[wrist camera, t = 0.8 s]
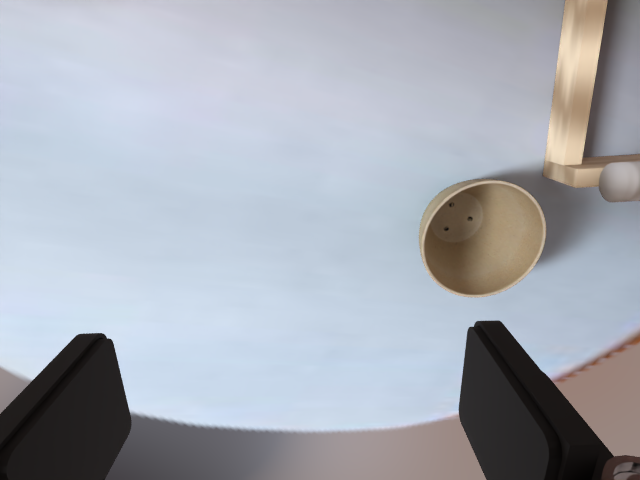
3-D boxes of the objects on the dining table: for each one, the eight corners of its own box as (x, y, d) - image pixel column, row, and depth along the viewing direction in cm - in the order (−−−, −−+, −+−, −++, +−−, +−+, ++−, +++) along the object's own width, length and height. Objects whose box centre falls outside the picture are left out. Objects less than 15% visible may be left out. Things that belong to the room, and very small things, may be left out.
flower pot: (385, 241, 40) (399, 271, 33) (435, 147, 37) (462, 159, 30) (472, 279, 41) (502, 314, 35) (527, 191, 38) (572, 211, 32)
